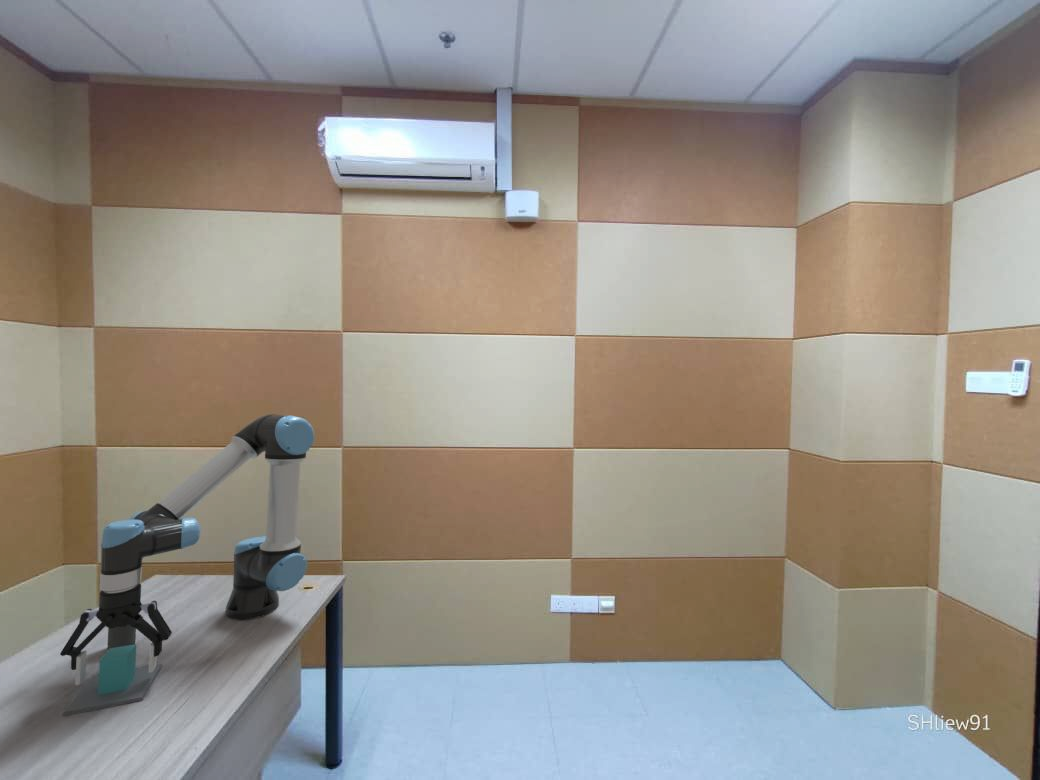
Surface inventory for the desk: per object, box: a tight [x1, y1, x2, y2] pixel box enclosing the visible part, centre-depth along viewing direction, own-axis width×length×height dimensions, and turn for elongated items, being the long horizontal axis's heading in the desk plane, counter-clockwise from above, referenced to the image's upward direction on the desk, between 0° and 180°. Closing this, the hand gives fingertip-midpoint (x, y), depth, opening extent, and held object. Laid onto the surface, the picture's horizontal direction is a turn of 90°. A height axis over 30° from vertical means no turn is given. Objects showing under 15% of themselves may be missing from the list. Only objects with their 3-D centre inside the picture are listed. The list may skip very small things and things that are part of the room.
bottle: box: [107, 624, 137, 650], centre depth 125 cm, size 6×6×15 cm
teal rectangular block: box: [98, 643, 137, 695], centre depth 108 cm, size 5×5×8 cm
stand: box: [62, 662, 164, 717], centre depth 108 cm, size 14×14×7 cm
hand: (117, 675), depth 108 cm, fingers open, 13 cm apart
